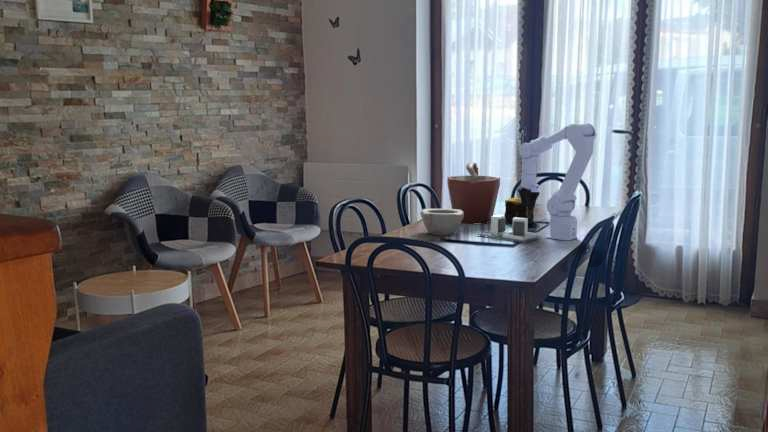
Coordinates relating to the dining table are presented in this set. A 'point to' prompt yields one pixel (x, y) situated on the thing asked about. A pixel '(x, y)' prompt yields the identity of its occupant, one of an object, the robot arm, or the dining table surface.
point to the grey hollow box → (500, 226)
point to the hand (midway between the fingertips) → (527, 208)
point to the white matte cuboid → (519, 226)
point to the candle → (517, 211)
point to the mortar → (442, 220)
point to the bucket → (474, 195)
